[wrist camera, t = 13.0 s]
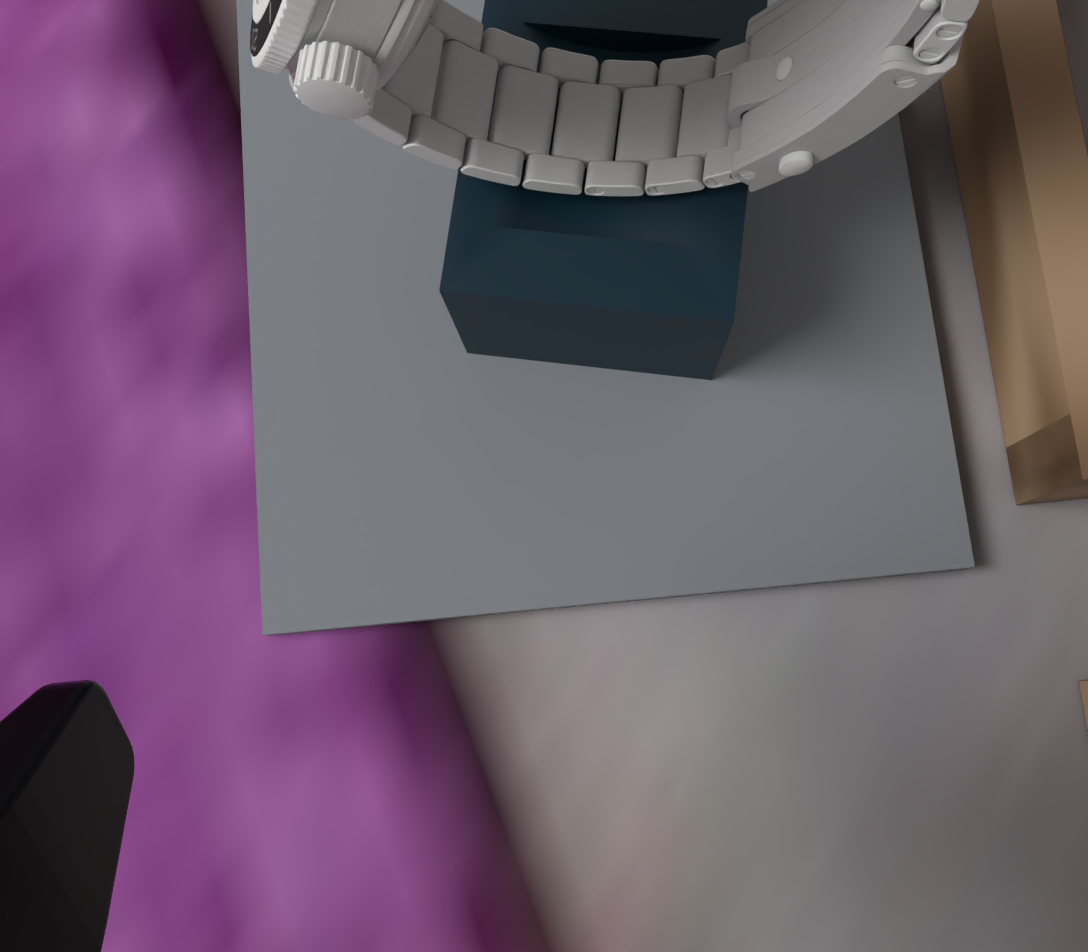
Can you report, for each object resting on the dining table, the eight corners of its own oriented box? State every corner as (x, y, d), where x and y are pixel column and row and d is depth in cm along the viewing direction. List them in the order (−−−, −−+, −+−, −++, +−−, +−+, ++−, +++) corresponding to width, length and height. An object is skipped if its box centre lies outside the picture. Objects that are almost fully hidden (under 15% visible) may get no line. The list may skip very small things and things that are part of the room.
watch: (406, 60, 19) (152, -708, 8) (841, 98, 19) (1165, -679, 8) (358, 345, 18) (2, -107, 8) (814, 396, 18) (1142, -22, 7)
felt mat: (966, 568, 17) (975, 567, 17) (270, 635, 18) (262, 635, 18) (846, -149, 20) (851, -166, 20) (240, -74, 20) (233, -87, 20)
